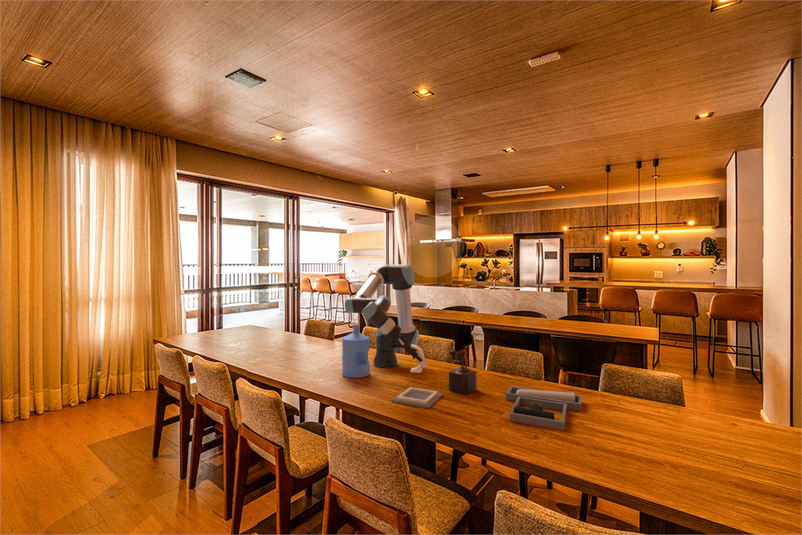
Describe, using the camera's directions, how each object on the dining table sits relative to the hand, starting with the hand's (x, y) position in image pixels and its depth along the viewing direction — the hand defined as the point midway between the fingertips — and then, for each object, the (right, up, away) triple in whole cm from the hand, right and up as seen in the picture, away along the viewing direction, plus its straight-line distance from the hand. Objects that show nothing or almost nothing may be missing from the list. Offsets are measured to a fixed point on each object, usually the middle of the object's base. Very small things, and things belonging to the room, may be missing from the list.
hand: (425, 364), depth 175 cm
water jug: (-37, -16, +39) cm, 56 cm away
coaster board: (-4, -16, 0) cm, 17 cm away
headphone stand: (-4, -4, 0) cm, 5 cm away
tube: (+54, -16, -4) cm, 57 cm away
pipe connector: (+43, -17, -23) cm, 51 cm away
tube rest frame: (+54, -16, -4) cm, 56 cm away
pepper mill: (+18, -16, +14) cm, 28 cm away
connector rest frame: (+46, -16, -20) cm, 52 cm away
